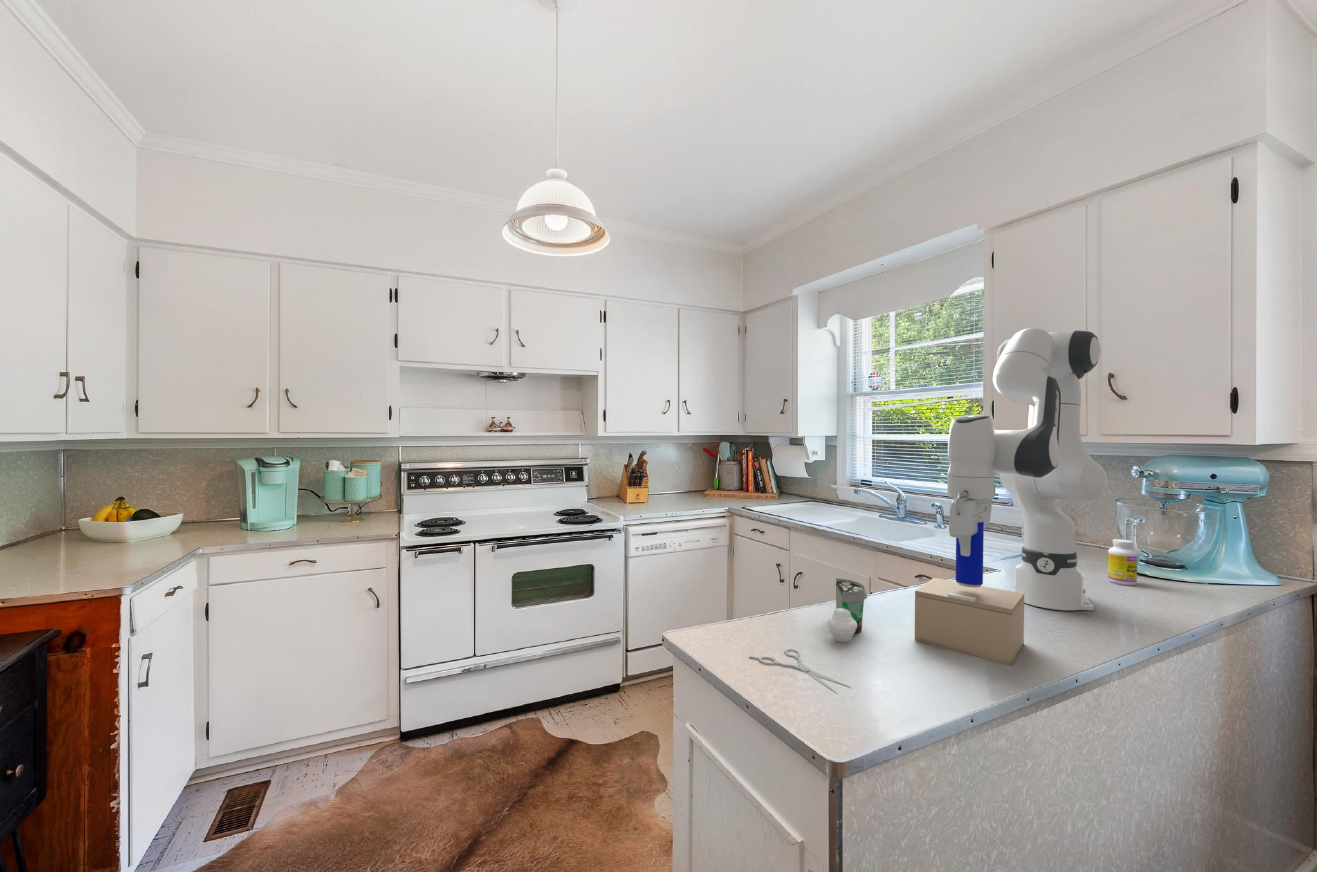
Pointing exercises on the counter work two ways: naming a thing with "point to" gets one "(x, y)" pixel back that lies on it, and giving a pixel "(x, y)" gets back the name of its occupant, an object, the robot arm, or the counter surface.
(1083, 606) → the robot arm
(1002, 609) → the lid
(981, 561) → the beverage can
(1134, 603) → the counter surface
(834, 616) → the muffin
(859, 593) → the food container
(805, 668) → the scissors
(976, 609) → the tan box
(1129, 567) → the supplement bottle
